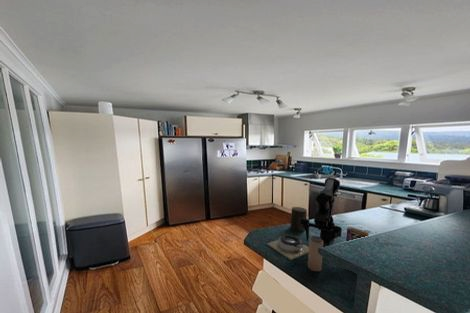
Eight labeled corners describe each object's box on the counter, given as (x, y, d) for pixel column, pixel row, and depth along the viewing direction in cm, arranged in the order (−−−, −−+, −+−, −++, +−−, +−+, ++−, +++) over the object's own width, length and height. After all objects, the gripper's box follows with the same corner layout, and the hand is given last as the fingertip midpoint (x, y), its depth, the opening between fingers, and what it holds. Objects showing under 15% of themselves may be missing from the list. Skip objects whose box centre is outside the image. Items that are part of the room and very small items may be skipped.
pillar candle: (292, 231, 134) (294, 209, 132) (288, 225, 143) (290, 204, 142) (307, 232, 134) (309, 210, 132) (302, 226, 143) (304, 205, 142)
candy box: (366, 261, 102) (369, 231, 101) (364, 265, 99) (367, 234, 98) (346, 254, 109) (349, 226, 107) (344, 257, 105) (346, 228, 104)
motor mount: (288, 238, 125) (289, 229, 124) (313, 251, 110) (313, 242, 110) (267, 244, 115) (267, 235, 115) (290, 260, 101) (291, 250, 101)
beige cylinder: (313, 262, 100) (315, 234, 99) (324, 268, 95) (326, 239, 94) (304, 265, 97) (306, 237, 96) (316, 273, 92) (318, 242, 91)
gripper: (302, 202, 106) (294, 231, 98) (343, 210, 96) (338, 242, 88) (304, 213, 113) (298, 240, 105) (343, 221, 104) (339, 252, 95)
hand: (317, 243), depth 98 cm, fingers open, 9 cm apart
